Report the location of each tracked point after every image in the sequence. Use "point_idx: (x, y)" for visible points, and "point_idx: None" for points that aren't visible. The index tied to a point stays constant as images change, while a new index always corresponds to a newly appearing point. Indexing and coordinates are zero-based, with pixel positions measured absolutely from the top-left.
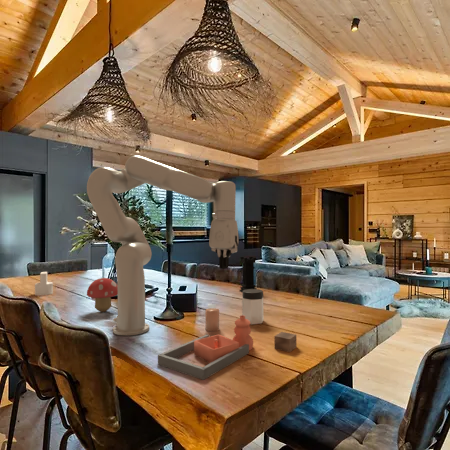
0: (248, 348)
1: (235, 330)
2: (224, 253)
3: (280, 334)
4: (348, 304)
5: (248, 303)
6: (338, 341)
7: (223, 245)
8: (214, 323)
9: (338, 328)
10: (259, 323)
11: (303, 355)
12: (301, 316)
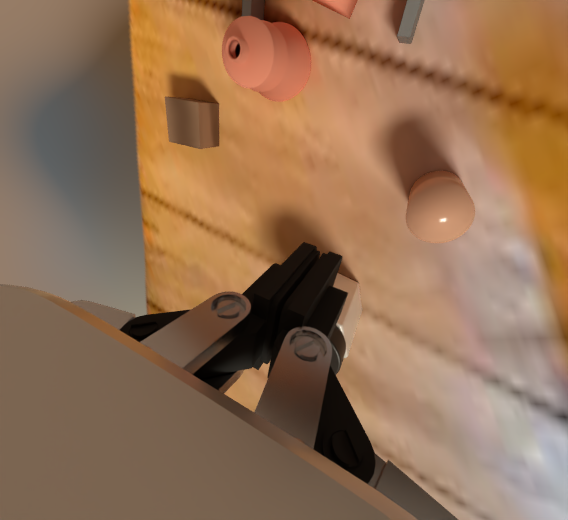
0: None
1: (272, 25)
2: (208, 324)
3: (193, 124)
4: None
5: None
6: (153, 205)
7: (36, 364)
8: (420, 182)
9: (177, 276)
10: None
11: (162, 93)
12: None
